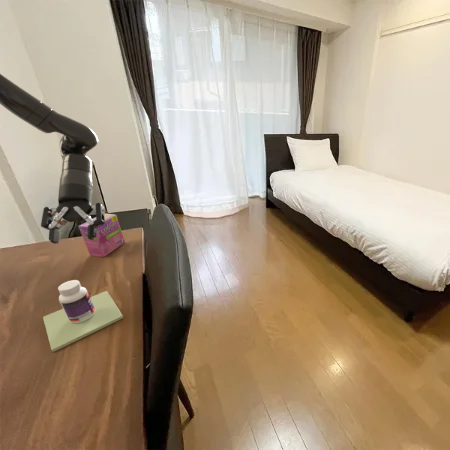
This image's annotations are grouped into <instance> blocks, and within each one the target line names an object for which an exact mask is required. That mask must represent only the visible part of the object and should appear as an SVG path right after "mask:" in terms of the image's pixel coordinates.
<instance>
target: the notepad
mask: <svg viewBox="0 0 450 450" xmlns="http://www.w3.org/2000/svg"><path fill="white" fill-rule="evenodd" d="M90 299H91V301H92V303H93V306H94V308H95V313H94V315H93V316H92V317H91V318H89V319H88V320H86V321H84V322H81V323H71V322H70V321H69V319H68V317H67V315H66V313H65V311H64V309H63V308H61V309H58V310H56V311H54V312H51V313H49V314H47V315H44V316H43V317H42V319H43V324H44V327H45V330H46V334H47V339H48V342H49V347H50V350H51V352H52V353H55V352H56V351H59V350H62V349H63V348H66V347H67V346H69V345H72V344H73V343H75V342H77V341H79V340H81V339H83V338H86V337H88V336H90V335H92V334H93V333H96V332H98V331H100V330H102V329H104V328H106V327H108V326H110V325H112V324H114V323H116V322H118V321H120V320H122V319H124V316H123V314H122V312H121V311H120V309H119V308H118V306H117V304H116V302H115V301H114V299H113V298H112V296H111V295H110V293H109V292H108V290H105V291H102V292H100V293H98V294H94V295H93V296H91V297H90Z"/></svg>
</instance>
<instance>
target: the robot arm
mask: <svg viewBox="0 0 450 450" xmlns="http://www.w3.org/2000/svg"><path fill="white" fill-rule="evenodd" d="M0 105H1V106H2V107H3V108H5V109H6V110H7V111H8V112H10V113H11V114H13V115H14V116H15V117H17V118H19V119H21V121H24V122H26V123H27V124H29V125H30V126H32V127H33V128H36V129H37V130H38V131H40V132H42V133H44V134H52V133H58V134H61V135H62V136H61V138H60V141H59V151H60V156H61V159H62V164H61V172H60V173H61V174H60V177H59V186H58V195H57V196H58V197H57V200H58V203H57V204H58V205H57V207H52V208H51V207H49V206H44V207H43V211H42V215H41V222H40V227H41V228H43V229H45V230H47V231H48V240H49V242H51V243H52V244H55V245H56V244H59V242H60V229H61V228H63V227H64V226H66V225H67V224H68V222H69V223H73V222H83V221H86V222H88V223H89V225H88V236H87V237H88V239H90V240H94V237H96V233H97V226H98V225H103V224H105V214H106V213H105V206H104V205H103V204H101V203H100V202H96V203H95V204H93V189H94V184H93V162H92V159H91V158H90V157H89V156H87V153H88V152H89V151H91V150H92V149H94V148H95V147H96V146H97V145H98V143H99V138H98V136H97V134H96V133H95V131H93V130H92V129H91V128H90V127H89V126H87V125H86V124H83V123H82V122H79V121H77V120H75V119H73V118H70V117H68V116H66V115H64V114H61V113H59V112H57V111H56V110H54V109H53V108H51V107H50V106H49V105H47V104H45V103H44V102H43V101H41V100H39V98H37V97H35V96H34V95H32V94H31V93H29V92H28V91H26V90H25V89H23V88H22V87H20V86H19V85H18V84H16V83H14V82H13V81H12V80H11V79H8V78H7V77H6V76H4V75H3V74H1V73H0ZM93 211H94V212H95V217H96V220H93V218H92V216H91V215H90V214H91V213H92V212H93ZM56 214H57V215H56Z"/></svg>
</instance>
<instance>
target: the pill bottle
mask: <svg viewBox="0 0 450 450" xmlns="http://www.w3.org/2000/svg"><path fill="white" fill-rule="evenodd" d="M57 290H58V292H59V296H58V302H59V303H60V305H61V307H62V309H64V311H65V313H66V315H67V317H68V319H69V321H70V322H71V323H81V322H84V321H86V320H88V319H89V318H91V317H92V316H93V315H94V313H95V308H94V306H93V303H92V301H91V299H90V294H89V292H88V289H87V288H86V287H84V286H82V285H81V282H80V281H79V280H76V279H72V280H68V281H65V282H63V283H61V284H60V285H59V286H58V287H57Z"/></svg>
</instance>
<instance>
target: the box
mask: <svg viewBox="0 0 450 450" xmlns="http://www.w3.org/2000/svg"><path fill="white" fill-rule="evenodd" d="M92 219H93V220H96V216H95V217H93V218H92ZM88 225H89V223H88V222H87V221H86V222H84V223H82V224H80V225H78V229H79V231H80V234H81V237H82V239H83V241H84V244H85V246H86V249H87V252H88V254H89V256H90V257H98V258H99V257H100V258H104V257H106V256H108V255H109V254H110V253H112V252H114V251H115V250H116V249H118V248H119V247H121V246H122V245H123V244H125V243H126V241H125V237H124V234H123V231H122V228H121V225H120V223H119V219H118V215H117V214H114V213H105V224H103V225H98V226H97V233H96V237H94V240H90V239H88V237H87V236H88Z"/></svg>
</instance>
